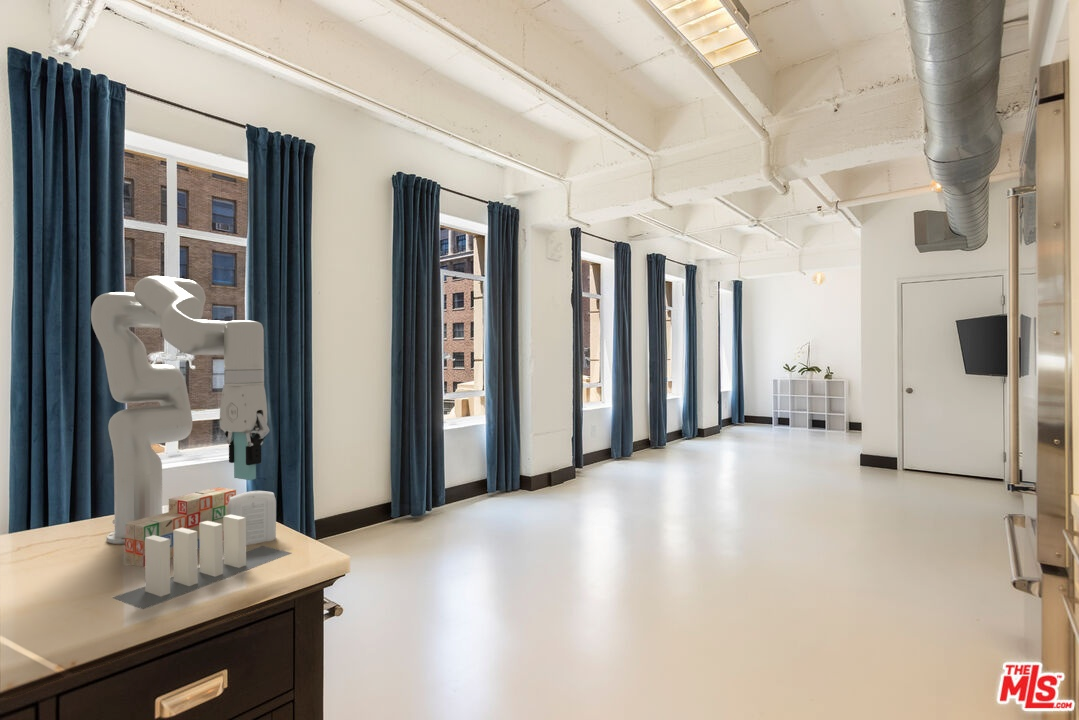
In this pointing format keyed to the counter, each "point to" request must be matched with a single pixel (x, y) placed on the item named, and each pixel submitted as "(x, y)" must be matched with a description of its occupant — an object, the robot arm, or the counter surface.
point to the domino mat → (201, 579)
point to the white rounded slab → (256, 514)
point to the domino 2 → (185, 556)
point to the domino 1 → (157, 565)
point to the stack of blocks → (176, 521)
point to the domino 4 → (242, 458)
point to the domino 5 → (234, 540)
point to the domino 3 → (211, 548)
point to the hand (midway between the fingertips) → (245, 462)
